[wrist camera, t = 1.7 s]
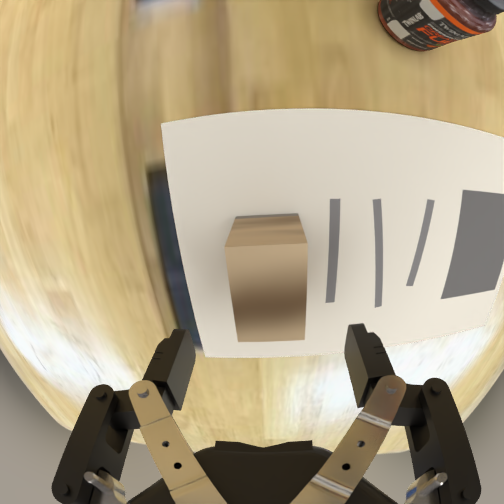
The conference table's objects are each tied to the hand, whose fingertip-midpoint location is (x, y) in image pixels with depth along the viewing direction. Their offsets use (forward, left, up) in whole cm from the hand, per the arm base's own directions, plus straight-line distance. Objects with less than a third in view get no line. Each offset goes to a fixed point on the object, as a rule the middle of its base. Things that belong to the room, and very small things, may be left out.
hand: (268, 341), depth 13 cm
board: (0, +10, -11) cm, 15 cm away
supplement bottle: (-20, +13, -11) cm, 26 cm away
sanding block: (0, 0, -9) cm, 9 cm away
